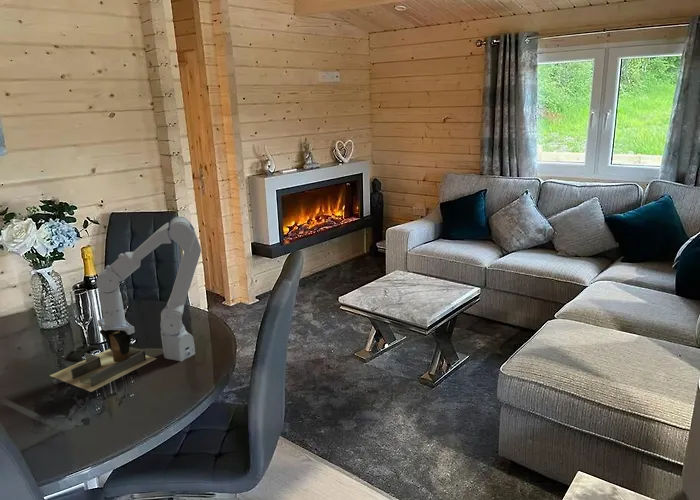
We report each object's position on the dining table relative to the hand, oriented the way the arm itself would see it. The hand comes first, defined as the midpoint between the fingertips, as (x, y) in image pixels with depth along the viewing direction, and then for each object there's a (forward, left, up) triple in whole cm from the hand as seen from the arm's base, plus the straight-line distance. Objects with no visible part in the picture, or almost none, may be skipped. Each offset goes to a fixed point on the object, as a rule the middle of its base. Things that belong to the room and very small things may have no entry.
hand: (120, 351), depth 158 cm
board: (+3, +4, -5) cm, 7 cm away
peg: (0, 0, -2) cm, 2 cm away
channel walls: (+3, +4, -4) cm, 6 cm away
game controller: (+17, +2, -5) cm, 18 cm away
